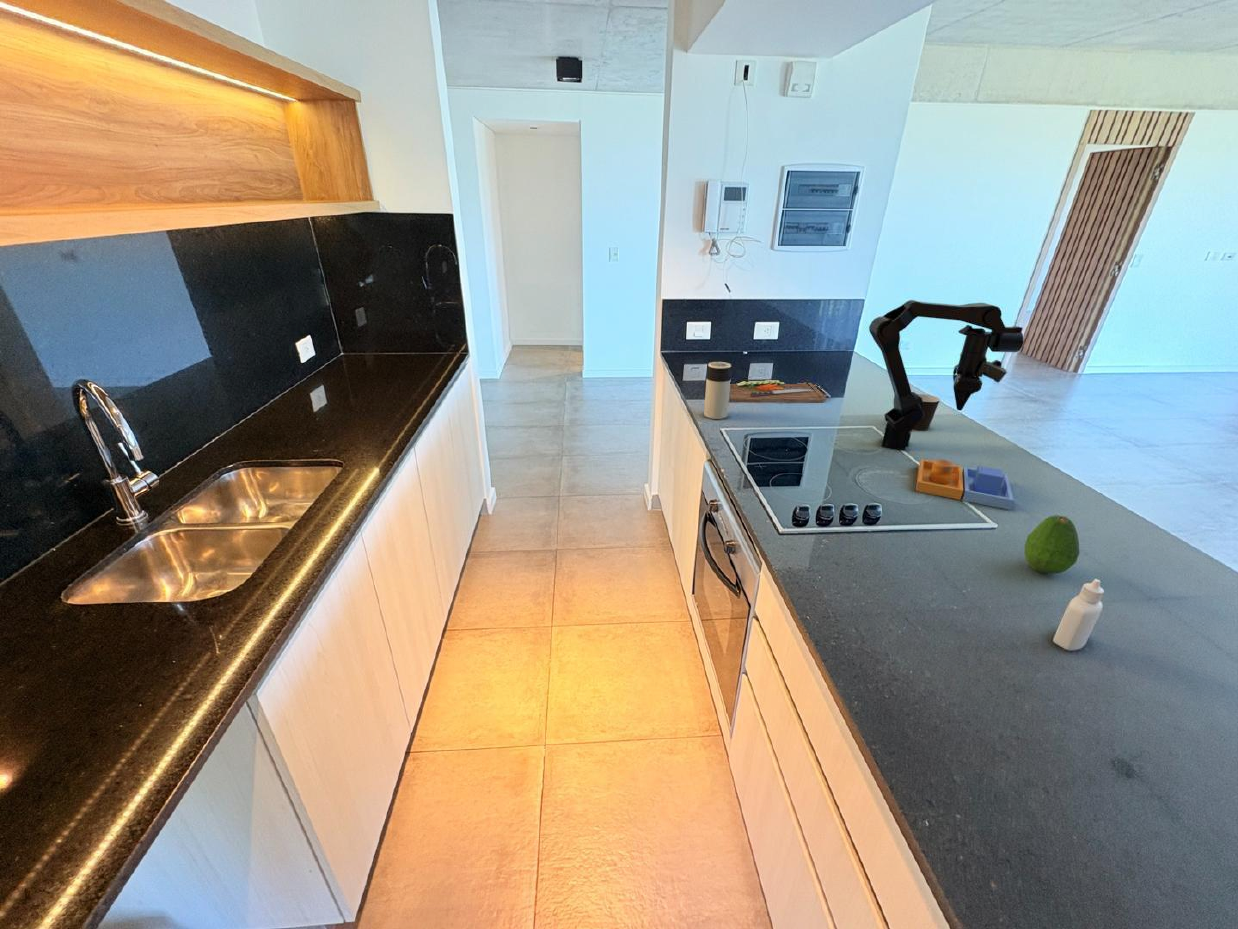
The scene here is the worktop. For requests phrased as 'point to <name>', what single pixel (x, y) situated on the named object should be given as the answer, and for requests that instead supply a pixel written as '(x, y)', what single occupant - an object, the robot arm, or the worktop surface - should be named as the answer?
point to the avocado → (1052, 545)
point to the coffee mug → (927, 411)
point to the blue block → (988, 480)
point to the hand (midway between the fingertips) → (958, 405)
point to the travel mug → (717, 390)
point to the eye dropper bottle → (1080, 617)
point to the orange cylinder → (941, 472)
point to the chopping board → (775, 392)
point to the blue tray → (999, 501)
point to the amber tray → (948, 490)
